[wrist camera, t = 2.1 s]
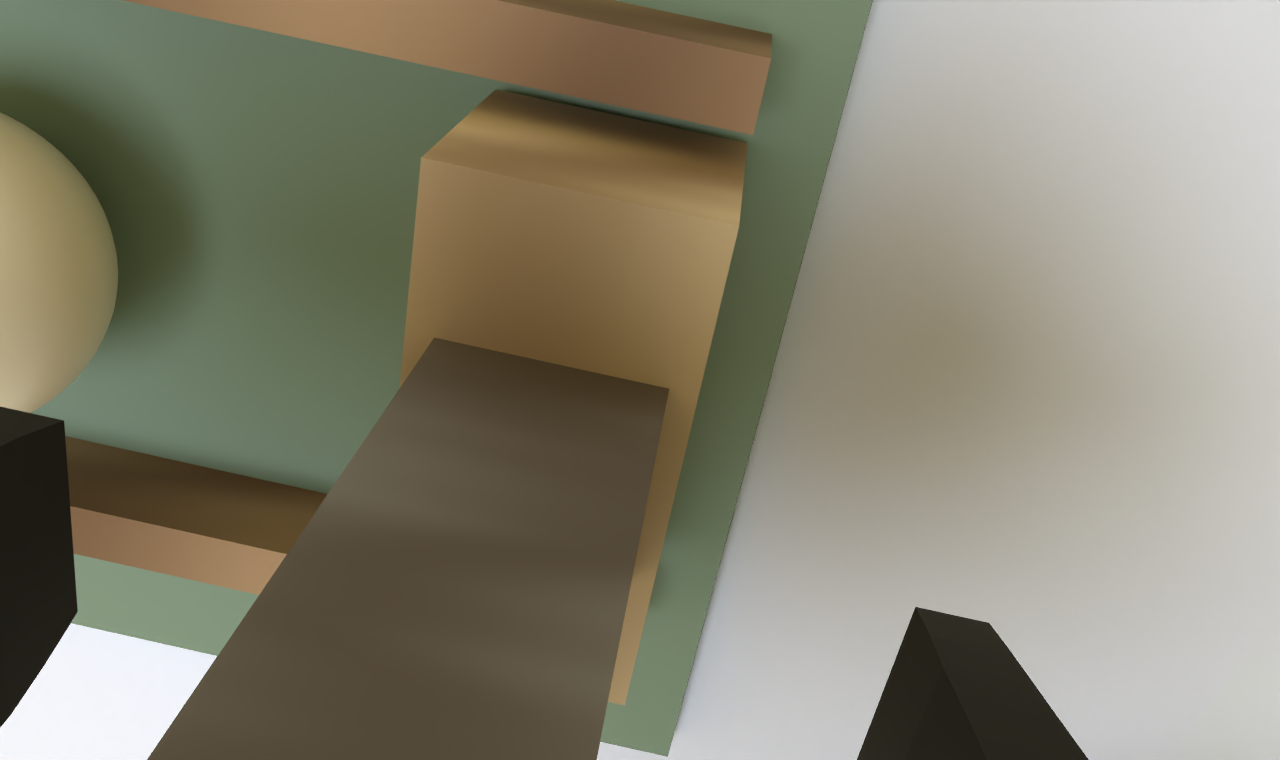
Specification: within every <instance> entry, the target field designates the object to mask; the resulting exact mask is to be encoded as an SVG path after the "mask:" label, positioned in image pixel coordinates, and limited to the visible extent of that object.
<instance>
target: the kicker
mask: <svg viewBox="0 0 1280 760" xmlns="http://www.w3.org/2000/svg"><path fill="white" fill-rule="evenodd" d="M747 144H748V143H744V142H740V141H735V140H730V139H726V138H721V137H716V136H712V135H707V134H702V133H698V132H693V131H688V130H684V129H679V128H674V127H670V126H665V125H660V124H656V123H651V122H646V121H642V120H637V119H632V118H628V117H623V116H618V115H613V114H609V113H604V112H599V111H595V110H590V109H585V108H581V107H576V106H571V105H567V104H562V103H557V102H553V101H548V100H543V99H539V98H534V97H529V96H525V95H520V94H515V93H511V92H506V91H501V90H497V89H495V90H494V91H493V92H492V93H491V94H490V95H489V96H488V97H487V98H486V99H485V100H483V101H482V102H481V103H480V104H479V105H478V106H477V107H476V108H475V109H474V110H473V111H471V112H470V113H469V114H468V115H467V116H466V117H465V118H464V119H463V120H462V121H461V122H459V123H458V124H457V125H456V126H455V127H454V128H453V129H452V130H451V131H450V132H448V133H447V134H446V135H445V136H444V137H443V138H442V139H441V140H440V141H439V142H438V143H436V144H435V145H434V146H433V147H432V148H431V149H430V150H429V151H428V152H427V153H426V154H424V155H423V156H422V157H421V165H420V176H419V186H418V197H417V208H416V218H415V229H414V240H413V250H412V261H411V272H410V282H409V293H408V304H407V314H406V325H405V336H404V346H403V357H402V368H401V378H400V389H399V390H398V391H397V393H396V394H395V396H394V397H393V399H392V400H391V402H390V403H389V405H388V406H387V408H386V409H385V411H384V412H383V414H382V415H381V416H380V418H379V419H378V421H377V422H376V424H375V425H374V427H373V428H372V430H371V431H370V433H369V434H368V436H367V437H366V439H365V440H364V441H363V443H362V444H361V446H360V447H359V449H358V450H357V452H356V453H355V455H354V456H353V458H352V459H351V461H350V462H349V464H348V465H347V467H346V468H345V469H344V471H343V472H342V474H341V475H340V477H339V478H338V480H337V481H336V483H335V484H334V486H333V487H332V489H331V490H330V492H329V493H328V494H327V496H326V497H325V499H324V500H323V502H322V503H321V505H320V506H319V508H318V509H317V511H316V512H315V514H314V515H313V517H312V518H311V519H310V521H309V522H308V524H307V525H306V527H305V528H304V530H303V531H302V533H301V534H300V536H299V537H298V539H297V540H296V542H295V543H294V545H293V546H292V547H291V549H290V550H289V552H288V553H287V555H286V556H285V558H284V559H283V561H282V562H281V564H280V565H279V567H278V568H277V570H276V571H275V572H274V574H273V575H272V577H271V578H270V580H269V581H268V583H267V584H266V586H265V587H264V589H263V590H262V592H261V593H260V595H259V596H258V597H257V599H256V600H255V602H254V603H253V605H252V606H251V608H250V609H249V611H248V612H247V614H246V615H245V617H244V618H243V620H242V621H241V622H240V624H239V625H238V627H237V628H236V630H235V631H234V633H233V634H232V636H231V637H230V639H229V640H228V642H227V643H226V645H225V646H224V648H223V649H222V650H221V652H220V653H219V655H218V656H217V658H216V659H215V661H214V662H213V664H212V665H211V667H210V668H209V670H208V671H207V673H206V674H205V675H204V677H203V678H202V680H201V681H200V683H199V684H198V686H197V687H196V689H195V690H194V692H193V693H192V695H191V696H190V698H189V699H188V700H187V702H186V703H185V705H184V706H183V708H182V709H181V711H180V712H179V714H178V715H177V717H176V718H175V720H174V721H173V723H172V724H171V726H170V727H169V728H168V730H167V731H166V733H165V734H164V736H163V737H162V739H161V740H160V742H159V743H158V745H157V746H156V748H155V749H154V751H153V752H152V753H151V755H150V756H149V758H148V759H147V760H596V759H597V754H598V749H599V744H600V739H601V734H602V729H603V724H604V719H605V713H606V708H607V703H608V702H611V703H616V704H620V705H625V702H626V698H627V694H628V690H629V685H630V681H631V677H632V673H633V669H634V665H635V660H636V656H637V652H638V648H639V644H640V639H641V635H642V631H643V627H644V623H645V618H646V614H647V610H648V606H649V602H650V597H651V593H652V589H653V585H654V581H655V577H656V572H657V568H658V564H659V560H660V556H661V551H662V547H663V543H664V539H665V535H666V530H667V526H668V522H669V518H670V514H671V510H672V505H673V501H674V497H675V493H676V489H677V484H678V480H679V476H680V472H681V468H682V463H683V459H684V455H685V451H686V447H687V443H688V438H689V434H690V430H691V426H692V422H693V417H694V413H695V409H696V405H697V401H698V396H699V392H700V388H701V384H702V380H703V375H704V371H705V367H706V363H707V359H708V355H709V350H710V346H711V342H712V338H713V334H714V329H715V325H716V321H717V317H718V313H719V308H720V304H721V300H722V296H723V292H724V288H725V283H726V279H727V275H728V271H729V267H730V262H731V258H732V254H733V250H734V246H735V241H736V237H737V233H738V229H739V223H740V213H741V203H742V193H743V183H744V173H745V163H746V153H747Z"/></svg>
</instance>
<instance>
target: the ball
mask: <svg viewBox="0 0 1280 760" xmlns="http://www.w3.org/2000/svg"><path fill="white" fill-rule="evenodd" d="M117 287H118V262H117V253H116V248H115V244H114V240H113V236H112V232H111V228H110V226H109V223H108V220H107V217H106V215H105V212H104V210H103V208H102V206H101V204H100V202H99V200H98V198H97V196H96V195H95V193H94V192H93V190H92V189H91V187H90V185H89V184H88V182H87V181H86V180H85V178H84V177H83V176H82V175H81V173H80V172H79V171H78V170H77V168H76V167H75V166H74V165H73V164H72V163H71V162H70V161H69V160H68V159H67V158H66V157H65V156H64V155H63V154H62V153H61V152H60V151H59V150H58V149H56V148H55V147H54V146H53V145H52V144H51V143H49V142H48V141H47V140H46V139H44V138H43V137H42V136H40V135H39V134H37V133H36V132H34V131H33V130H31V129H30V128H29V127H27V126H26V125H24V124H22V123H20V122H18V121H17V120H15V119H13V118H11V117H9V116H7V115H5V114H3V113H0V407H5V408H9V409H14V410H19V411H23V412H28V413H32V412H33V411H35V410H37V409H38V408H40V407H42V406H43V405H45V404H46V403H48V402H49V401H51V400H52V399H54V398H55V397H56V396H57V395H58V394H60V393H61V392H62V391H63V390H64V389H65V388H67V387H68V386H69V385H70V384H71V383H72V382H73V381H74V380H75V379H76V378H77V377H78V376H79V375H80V373H81V372H82V371H83V370H84V368H85V367H86V366H87V365H88V363H89V362H90V361H91V359H92V358H93V356H94V355H95V353H96V352H97V350H98V348H99V346H100V344H101V343H102V341H103V339H104V337H105V334H106V332H107V329H108V327H109V324H110V321H111V318H112V315H113V312H114V307H115V302H116V296H117Z"/></svg>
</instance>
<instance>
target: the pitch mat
mask: <svg viewBox="0 0 1280 760" xmlns="http://www.w3.org/2000/svg"><path fill="white" fill-rule="evenodd" d="M614 1H619V2H623V3H628V4H633V5H637V6H642V7H647V8H652V9H656V10H661V11H666V12H670V13H675V14H680V15H685V16H689V17H694V18H699V19H703V20H708V21H713V22H718V23H722V24H727V25H732V26H736V27H741V28H746V29H751V30H755V31H760V32H765V33H769V34H772V53H771V62H770V66H769V70H768V75H767V79H766V83H765V87H764V92H763V96H762V100H761V104H760V109H759V113H758V117H757V121H756V126H755V130H754V134H753V135H750V134H745V133H741V132H736V131H731V130H727V129H722V128H717V127H713V126H708V125H703V124H699V123H694V122H689V121H685V120H680V119H675V118H671V117H666V116H661V115H656V114H652V113H647V112H642V111H638V110H633V109H628V108H624V107H619V106H614V105H610V104H605V103H600V102H596V101H591V100H586V99H582V98H577V97H572V96H568V95H563V94H558V93H554V92H549V91H544V90H539V89H535V88H530V87H525V86H521V85H516V84H511V83H507V82H502V81H497V80H493V79H488V78H483V77H479V76H474V75H469V74H465V73H460V72H455V71H451V70H446V69H441V68H437V67H432V66H427V65H423V64H418V63H413V62H408V61H404V60H399V59H394V58H390V57H385V56H380V55H376V54H371V53H366V52H362V51H357V50H352V49H348V48H343V47H338V46H334V45H329V44H324V43H320V42H315V41H310V40H306V39H301V38H296V37H291V36H287V35H282V34H277V33H273V32H268V31H263V30H259V29H254V28H249V27H245V26H240V25H235V24H231V23H226V22H221V21H217V20H212V19H207V18H203V17H198V16H193V15H189V14H184V13H179V12H174V11H170V10H165V9H160V8H156V7H151V6H146V5H142V4H137V3H132V2H128V1H123V0H0V113H3V114H5V115H7V116H9V117H11V118H13V119H15V120H17V121H18V122H20V123H22V124H24V125H26V126H27V127H29V128H30V129H31V130H33V131H34V132H36V133H37V134H39V135H40V136H42V137H43V138H44V139H46V140H47V141H48V142H49V143H51V144H52V145H53V146H54V147H55V148H56V149H58V150H59V151H60V152H61V153H62V154H63V155H64V156H65V157H66V158H67V159H68V160H69V161H70V162H71V163H72V164H73V165H74V166H75V167H76V168H77V170H78V171H79V172H80V173H81V175H82V176H83V177H84V178H85V180H86V181H87V182H88V184H89V185H90V187H91V189H92V190H93V192H94V193H95V195H96V196H97V198H98V200H99V202H100V204H101V206H102V208H103V210H104V212H105V215H106V217H107V220H108V223H109V226H110V228H111V232H112V236H113V240H114V244H115V248H116V253H117V262H118V287H117V296H116V302H115V307H114V312H113V315H112V318H111V321H110V324H109V327H108V329H107V332H106V334H105V337H104V339H103V341H102V343H101V344H100V346H99V348H98V350H97V352H96V353H95V355H94V356H93V358H92V359H91V361H90V362H89V363H88V365H87V366H86V367H85V368H84V370H83V371H82V372H81V373H80V375H79V376H78V377H77V378H76V379H75V380H74V381H73V382H72V383H71V384H70V385H69V386H68V387H67V388H65V389H64V390H63V391H62V392H61V393H60V394H58V395H57V396H56V397H55V398H54V399H52V400H51V401H49V402H48V403H46V404H45V405H43V406H42V407H40V408H38V409H37V410H35V411H33V412H32V414H37V415H41V416H46V417H50V418H55V419H60V420H64V425H65V436H67V437H72V438H76V439H81V440H85V441H90V442H95V443H99V444H104V445H108V446H113V447H117V448H122V449H126V450H131V451H135V452H140V453H144V454H149V455H153V456H158V457H162V458H167V459H171V460H176V461H181V462H185V463H190V464H194V465H199V466H203V467H208V468H212V469H217V470H221V471H226V472H230V473H235V474H239V475H244V476H248V477H253V478H257V479H262V480H267V481H271V482H276V483H280V484H285V485H289V486H294V487H298V488H303V489H307V490H312V491H316V492H321V493H325V494H328V493H329V492H330V490H331V489H332V487H333V486H334V484H335V483H336V481H337V480H338V478H339V477H340V475H341V474H342V472H343V471H344V469H345V468H346V467H347V465H348V464H349V462H350V461H351V459H352V458H353V456H354V455H355V453H356V452H357V450H358V449H359V447H360V446H361V444H362V443H363V441H364V440H365V439H366V437H367V436H368V434H369V433H370V431H371V430H372V428H373V427H374V425H375V424H376V422H377V421H378V419H379V418H380V416H381V415H382V414H383V412H384V411H385V409H386V408H387V406H388V405H389V403H390V402H391V400H392V399H393V397H394V396H395V394H396V393H397V391H398V390H399V389H400V378H401V368H402V357H403V346H404V336H405V325H406V314H407V304H408V293H409V282H410V272H411V261H412V250H413V240H414V229H415V218H416V208H417V197H418V186H419V176H420V165H421V157H422V156H423V155H424V154H426V153H427V152H428V151H429V150H430V149H431V148H432V147H433V146H434V145H435V144H436V143H438V142H439V141H440V140H441V139H442V138H443V137H444V136H445V135H446V134H447V133H448V132H450V131H451V130H452V129H453V128H454V127H455V126H456V125H457V124H458V123H459V122H461V121H462V120H463V119H464V118H465V117H466V116H467V115H468V114H469V113H470V112H471V111H473V110H474V109H475V108H476V107H477V106H478V105H479V104H480V103H481V102H482V101H483V100H485V99H486V98H487V97H488V96H489V95H490V94H491V93H492V92H493V91H494V90H495V89H497V90H501V91H506V92H511V93H515V94H520V95H525V96H529V97H534V98H539V99H543V100H548V101H553V102H557V103H562V104H567V105H571V106H576V107H581V108H585V109H590V110H595V111H599V112H604V113H609V114H613V115H618V116H623V117H628V118H632V119H637V120H642V121H646V122H651V123H656V124H660V125H665V126H670V127H674V128H679V129H684V130H688V131H693V132H698V133H702V134H707V135H712V136H716V137H721V138H726V139H730V140H735V141H740V142H744V143H748V144H747V153H746V163H745V173H744V183H743V193H742V203H741V213H740V223H739V229H738V233H737V237H736V241H735V246H734V250H733V254H732V258H731V262H730V267H729V271H728V275H727V279H726V283H725V288H724V292H723V296H722V300H721V304H720V308H719V313H718V317H717V321H716V325H715V329H714V334H713V338H712V342H711V346H710V350H709V355H708V359H707V363H706V367H705V371H704V375H703V380H702V384H701V388H700V392H699V396H698V401H697V405H696V409H695V413H694V417H693V422H692V426H691V430H690V434H689V438H688V443H687V447H686V451H685V455H684V459H683V463H682V468H681V472H680V476H679V480H678V484H677V489H676V493H675V497H674V501H673V505H672V510H671V514H670V518H669V522H668V526H667V530H666V535H665V539H664V543H663V547H662V551H661V556H660V560H659V564H658V568H657V572H656V577H655V581H654V585H653V589H652V593H651V597H650V602H649V606H648V610H647V614H646V618H645V623H644V627H643V631H642V635H641V639H640V644H639V648H638V652H637V656H636V660H635V665H634V669H633V673H632V677H631V681H630V685H629V690H628V694H627V698H626V702H625V705H620V704H616V703H611V702H608V703H607V708H606V713H605V719H604V724H603V729H602V734H601V739H600V742H605V743H609V744H614V745H618V746H623V747H627V748H632V749H636V750H641V751H645V752H650V753H654V754H659V755H663V756H668V753H669V750H670V746H671V742H672V739H673V735H674V731H675V728H676V724H677V720H678V717H679V713H680V709H681V705H682V702H683V698H684V694H685V691H686V687H687V683H688V680H689V676H690V672H691V669H692V665H693V661H694V658H695V654H696V650H697V646H698V643H699V639H700V635H701V632H702V628H703V624H704V621H705V617H706V613H707V610H708V606H709V602H710V598H711V595H712V591H713V587H714V584H715V580H716V576H717V573H718V569H719V565H720V562H721V558H722V554H723V551H724V547H725V543H726V539H727V536H728V532H729V528H730V525H731V521H732V517H733V514H734V510H735V506H736V503H737V499H738V495H739V491H740V488H741V484H742V480H743V477H744V473H745V469H746V466H747V462H748V458H749V455H750V451H751V447H752V444H753V440H754V436H755V432H756V429H757V425H758V421H759V418H760V414H761V410H762V407H763V403H764V399H765V396H766V392H767V388H768V384H769V381H770V377H771V373H772V370H773V366H774V362H775V359H776V355H777V351H778V348H779V344H780V340H781V337H782V333H783V329H784V325H785V322H786V318H787V314H788V311H789V307H790V303H791V300H792V296H793V292H794V289H795V285H796V281H797V277H798V274H799V270H800V266H801V263H802V259H803V255H804V252H805V248H806V244H807V241H808V237H809V233H810V230H811V226H812V222H813V218H814V215H815V211H816V207H817V204H818V200H819V196H820V193H821V189H822V185H823V182H824V178H825V174H826V170H827V167H828V163H829V159H830V156H831V152H832V148H833V145H834V141H835V137H836V134H837V130H838V126H839V123H840V119H841V115H842V111H843V108H844V104H845V100H846V97H847V93H848V89H849V86H850V82H851V78H852V75H853V71H854V67H855V63H856V60H857V56H858V52H859V49H860V45H861V41H862V38H863V34H864V30H865V27H866V23H867V19H868V16H869V12H870V8H871V4H872V1H873V0H614ZM74 566H75V580H76V595H77V609H78V612H77V614H76V615H75V617H74V619H73V620H72V622H71V623H73V624H78V625H82V626H87V627H91V628H96V629H100V630H105V631H109V632H114V633H118V634H123V635H127V636H131V637H136V638H140V639H145V640H149V641H154V642H158V643H163V644H167V645H172V646H176V647H181V648H185V649H190V650H194V651H198V652H203V653H207V654H212V655H216V656H218V655H219V653H220V652H221V650H222V649H223V648H224V646H225V645H226V643H227V642H228V640H229V639H230V637H231V636H232V634H233V633H234V631H235V630H236V628H237V627H238V625H239V624H240V622H241V621H242V620H243V618H244V617H245V615H246V614H247V612H248V611H249V609H250V608H251V606H252V605H253V603H254V602H255V600H256V599H257V597H258V596H259V595H257V594H253V593H248V592H244V591H239V590H235V589H230V588H226V587H221V586H217V585H212V584H208V583H203V582H199V581H194V580H190V579H185V578H181V577H176V576H172V575H167V574H163V573H158V572H154V571H149V570H145V569H140V568H136V567H131V566H127V565H122V564H118V563H113V562H109V561H104V560H100V559H95V558H91V557H86V556H82V555H77V554H74Z"/></svg>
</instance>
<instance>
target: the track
mask: <svg viewBox="0 0 1280 760" xmlns="http://www.w3.org/2000/svg"><path fill="white" fill-rule="evenodd" d="M123 1H128V2H132V3H137V4H142V5H146V6H151V7H156V8H160V9H165V10H170V11H174V12H179V13H184V14H189V15H193V16H198V17H203V18H207V19H212V20H217V21H221V22H226V23H231V24H235V25H240V26H245V27H249V28H254V29H259V30H263V31H268V32H273V33H277V34H282V35H287V36H291V37H296V38H301V39H306V40H310V41H315V42H320V43H324V44H329V45H334V46H338V47H343V48H348V49H352V50H357V51H362V52H366V53H371V54H376V55H380V56H385V57H390V58H394V59H399V60H404V61H408V62H413V63H418V64H423V65H427V66H432V67H437V68H441V69H446V70H451V71H455V72H460V73H465V74H469V75H474V76H479V77H483V78H488V79H493V80H497V81H502V82H507V83H511V84H516V85H521V86H525V87H530V88H535V89H539V90H544V91H549V92H554V93H558V94H563V95H568V96H572V97H577V98H582V99H586V100H591V101H596V102H600V103H605V104H610V105H614V106H619V107H624V108H628V109H633V110H638V111H642V112H647V113H652V114H656V115H661V116H666V117H671V118H675V119H680V120H685V121H689V122H694V123H699V124H703V125H708V126H713V127H717V128H722V129H727V130H731V131H736V132H741V133H745V134H750V135H753V134H754V130H755V126H756V121H757V117H758V113H759V109H760V104H761V100H762V96H763V92H764V87H765V83H766V79H767V75H768V70H769V66H770V62H771V53H772V34H769V33H765V32H760V31H755V30H751V29H746V28H741V27H736V26H732V25H727V24H722V23H718V22H713V21H708V20H703V19H699V18H694V17H689V16H685V15H680V14H675V13H670V12H666V11H661V10H656V9H652V8H647V7H642V6H637V5H633V4H628V3H623V2H619V1H614V0H123ZM65 439H66V454H67V468H68V482H69V496H70V510H71V524H72V538H73V552H74V554H77V555H82V556H86V557H91V558H95V559H100V560H104V561H109V562H113V563H118V564H122V565H127V566H131V567H136V568H140V569H145V570H149V571H154V572H158V573H163V574H167V575H172V576H176V577H181V578H185V579H190V580H194V581H199V582H203V583H208V584H212V585H217V586H221V587H226V588H230V589H235V590H239V591H244V592H248V593H253V594H257V595H260V593H261V592H262V590H263V589H264V587H265V586H266V584H267V583H268V581H269V580H270V578H271V577H272V575H273V574H274V572H275V571H276V570H277V568H278V567H279V565H280V564H281V562H282V561H283V559H284V558H285V556H286V555H287V553H288V552H289V550H290V549H291V547H292V546H293V545H294V543H295V542H296V540H297V539H298V537H299V536H300V534H301V533H302V531H303V530H304V528H305V527H306V525H307V524H308V522H309V521H310V519H311V518H312V517H313V515H314V514H315V512H316V511H317V509H318V508H319V506H320V505H321V503H322V502H323V500H324V499H325V497H326V496H327V494H325V493H321V492H316V491H312V490H307V489H303V488H298V487H294V486H289V485H285V484H280V483H276V482H271V481H267V480H262V479H257V478H253V477H248V476H244V475H239V474H235V473H230V472H226V471H221V470H217V469H212V468H208V467H203V466H199V465H194V464H190V463H185V462H181V461H176V460H171V459H167V458H162V457H158V456H153V455H149V454H144V453H140V452H135V451H131V450H126V449H122V448H117V447H113V446H108V445H104V444H99V443H95V442H90V441H85V440H81V439H76V438H72V437H67V436H65Z"/></svg>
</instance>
